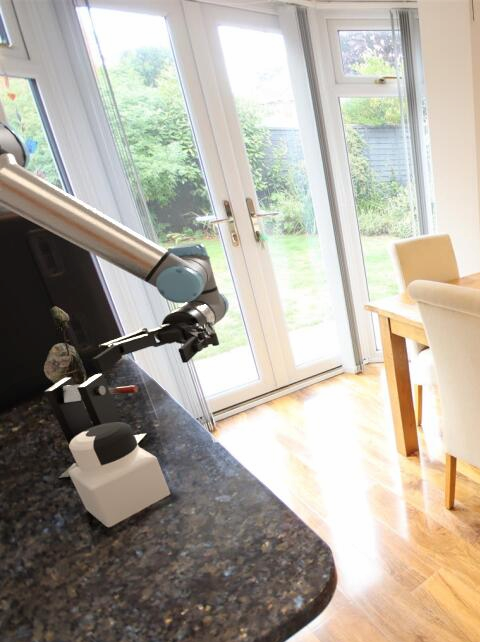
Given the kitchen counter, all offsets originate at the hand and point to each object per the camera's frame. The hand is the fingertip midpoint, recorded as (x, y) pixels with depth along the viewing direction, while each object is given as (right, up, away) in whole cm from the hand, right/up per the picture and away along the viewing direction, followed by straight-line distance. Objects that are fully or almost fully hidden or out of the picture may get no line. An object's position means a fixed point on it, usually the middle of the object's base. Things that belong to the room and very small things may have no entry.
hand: (140, 360), depth 83 cm
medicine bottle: (+16, -19, -21) cm, 33 cm away
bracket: (+4, -15, -11) cm, 19 cm away
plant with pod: (-17, -9, +6) cm, 20 cm away
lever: (+3, -6, -12) cm, 13 cm away
